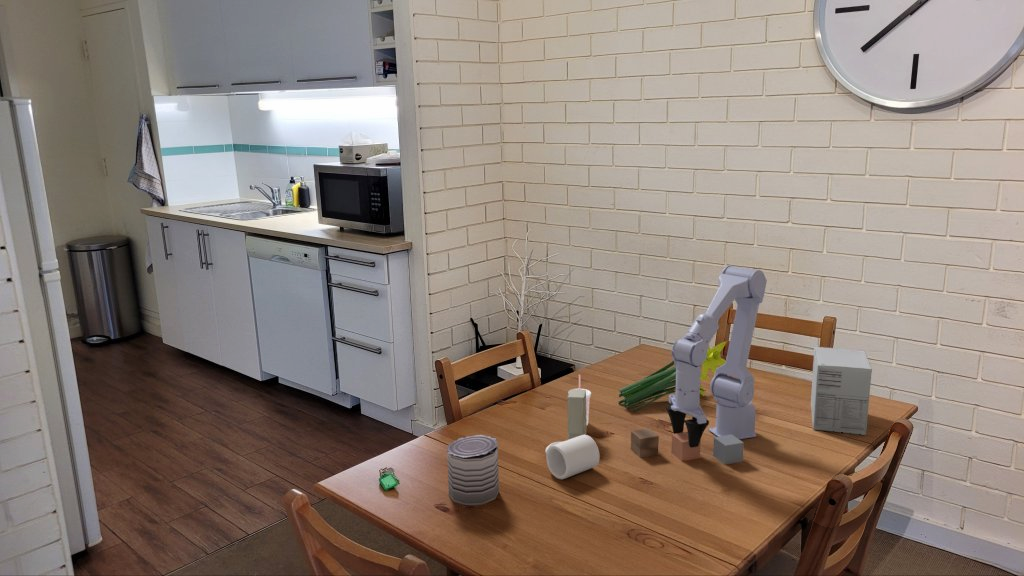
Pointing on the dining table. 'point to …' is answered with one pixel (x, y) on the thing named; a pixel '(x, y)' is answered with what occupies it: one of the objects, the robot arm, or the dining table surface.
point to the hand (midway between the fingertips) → (685, 440)
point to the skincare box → (576, 413)
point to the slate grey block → (728, 449)
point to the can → (473, 470)
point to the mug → (572, 456)
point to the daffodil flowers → (666, 381)
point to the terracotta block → (684, 447)
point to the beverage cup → (586, 400)
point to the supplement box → (840, 390)
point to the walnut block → (644, 442)
